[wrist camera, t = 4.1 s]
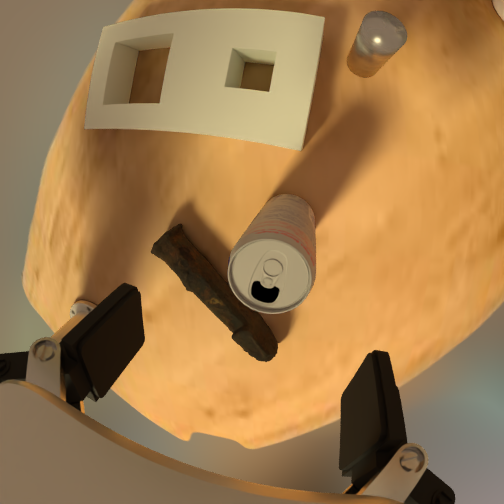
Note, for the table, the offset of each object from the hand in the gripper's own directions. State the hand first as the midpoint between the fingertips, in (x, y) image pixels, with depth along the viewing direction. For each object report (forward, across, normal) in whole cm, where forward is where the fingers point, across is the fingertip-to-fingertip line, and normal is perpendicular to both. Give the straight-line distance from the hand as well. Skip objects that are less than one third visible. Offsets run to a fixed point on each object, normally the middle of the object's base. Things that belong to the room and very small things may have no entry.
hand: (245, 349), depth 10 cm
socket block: (+18, +11, -13) cm, 25 cm away
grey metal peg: (+18, -4, -17) cm, 25 cm away
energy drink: (+18, 0, 0) cm, 18 cm away
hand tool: (+18, +5, +10) cm, 21 cm away
